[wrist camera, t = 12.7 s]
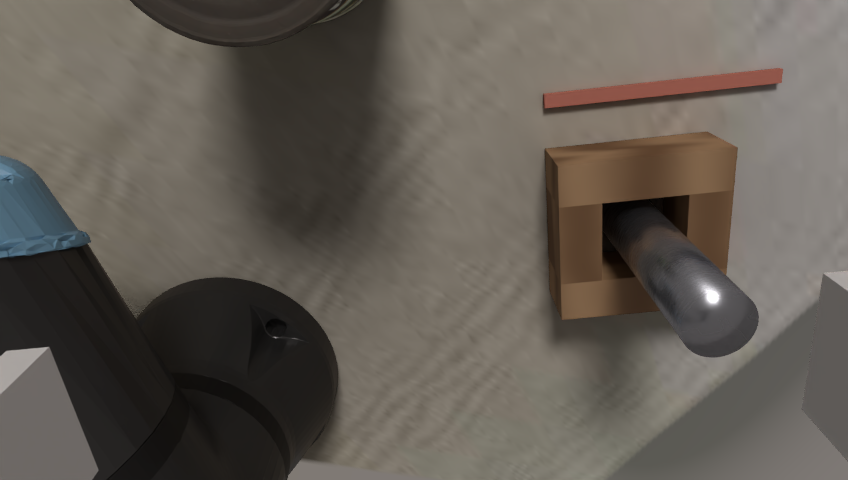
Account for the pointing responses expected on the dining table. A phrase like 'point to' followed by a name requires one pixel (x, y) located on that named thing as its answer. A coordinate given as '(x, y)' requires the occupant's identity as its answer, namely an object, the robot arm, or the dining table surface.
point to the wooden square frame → (625, 181)
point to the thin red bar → (663, 88)
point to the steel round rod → (680, 279)
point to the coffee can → (242, 18)
